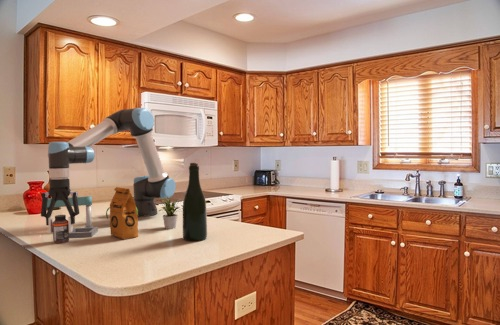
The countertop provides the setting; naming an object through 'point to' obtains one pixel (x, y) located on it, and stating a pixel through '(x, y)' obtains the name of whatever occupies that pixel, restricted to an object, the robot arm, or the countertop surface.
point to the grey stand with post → (87, 230)
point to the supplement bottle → (60, 229)
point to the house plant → (169, 214)
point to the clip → (81, 201)
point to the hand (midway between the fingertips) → (60, 232)
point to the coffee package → (123, 214)
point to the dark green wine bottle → (194, 208)
